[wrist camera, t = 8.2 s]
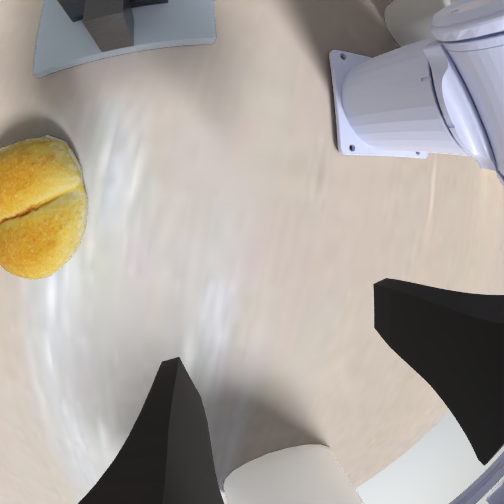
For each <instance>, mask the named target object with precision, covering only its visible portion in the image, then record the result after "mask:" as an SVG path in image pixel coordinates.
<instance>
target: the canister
mask: <svg viewBox="0 0 504 504" xmlns="http://www.w3.org/2000/svg"><path fill="white" fill-rule="evenodd" d="M223 487H224V491H225V495H226V498H227V502H228V504H364V502H363V501H362V499H361V498H360V496H359V494H358V493H357V491H356V489H355V488H354V486H353V485H352V483H351V481H350V480H349V478H348V477H347V475H346V473H345V472H344V470H343V468H342V467H341V465H340V463H339V462H338V460H337V459H336V457H335V455H334V454H333V452H332V450H331V449H330V447H327V446H324V445H321V444H306V445H300V446H295V447H289V448H285V449H282V450H278V451H275V452H271V453H268V454H265V455H263V456H261V457H258V458H256V459H254V460H251V461H249V462H247V463H245V464H244V465H242V466H240V467H238V468H237V469H235V470H234V471H233V472H232V473H231V474H230V475H228V476H227V477H226V478H225V482H224V485H223Z"/></svg>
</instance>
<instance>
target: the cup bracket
mask: <svg viewBox="0 0 504 504" xmlns="http://www.w3.org/2000/svg"><path fill="white" fill-rule="evenodd" d="M57 1H58V2H59V4H60V5H61V6H62V8H63V9H64V11H65V12H66V13H67V15H68V16H69V18H70V19H71V20H72V22H76V21H80V20H83V21H82V22H83V24H84V26H85V27H86V29H87V30H88V32H89V33H90V35H91V36H92V38H93V39H94V41H95V43H96V44H97V46H98V47H99V49H100V50H101V52H107V51H111V50H116V49H120V48H125V47H131V46H134V24H135V20H134V16H133V12H132V8H135V7H141V6H148V5H155V4H163V3H168V1H169V0H57Z"/></svg>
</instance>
